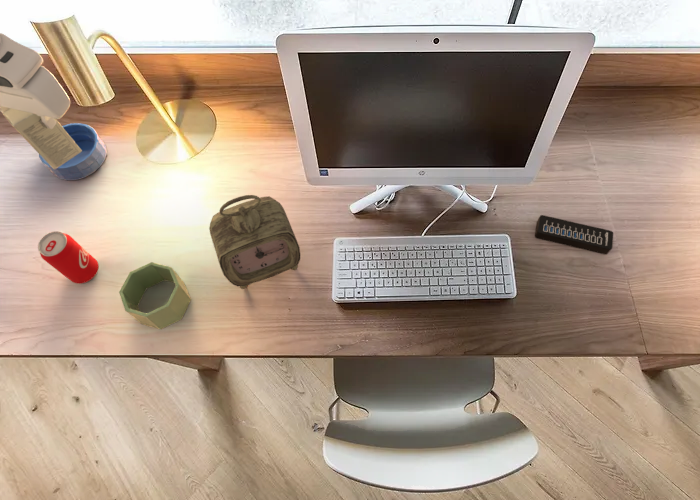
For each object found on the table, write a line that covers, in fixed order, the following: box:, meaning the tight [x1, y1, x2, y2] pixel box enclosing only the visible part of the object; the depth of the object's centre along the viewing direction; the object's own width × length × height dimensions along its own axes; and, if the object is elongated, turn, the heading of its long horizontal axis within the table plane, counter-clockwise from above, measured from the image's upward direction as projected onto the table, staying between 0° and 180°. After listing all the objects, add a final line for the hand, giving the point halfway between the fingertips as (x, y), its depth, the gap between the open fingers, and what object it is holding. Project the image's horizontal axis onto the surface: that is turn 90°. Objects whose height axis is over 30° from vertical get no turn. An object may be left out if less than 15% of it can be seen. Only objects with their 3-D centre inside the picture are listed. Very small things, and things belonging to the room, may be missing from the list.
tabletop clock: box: [208, 194, 301, 290], centre depth 90 cm, size 14×9×25 cm, turn 112°
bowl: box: [38, 122, 108, 181], centre depth 114 cm, size 13×13×5 cm
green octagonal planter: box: [118, 261, 192, 330], centre depth 95 cm, size 10×10×7 cm
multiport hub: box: [534, 214, 614, 255], centre depth 100 cm, size 4×14×2 cm, turn 73°
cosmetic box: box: [2, 108, 82, 169], centre depth 89 cm, size 6×4×12 cm
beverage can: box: [37, 231, 100, 285], centre depth 97 cm, size 6×6×12 cm
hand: (33, 121), depth 86 cm, fingers closed on cosmetic box, 6 cm apart
